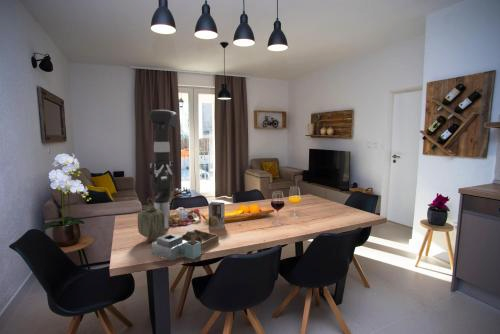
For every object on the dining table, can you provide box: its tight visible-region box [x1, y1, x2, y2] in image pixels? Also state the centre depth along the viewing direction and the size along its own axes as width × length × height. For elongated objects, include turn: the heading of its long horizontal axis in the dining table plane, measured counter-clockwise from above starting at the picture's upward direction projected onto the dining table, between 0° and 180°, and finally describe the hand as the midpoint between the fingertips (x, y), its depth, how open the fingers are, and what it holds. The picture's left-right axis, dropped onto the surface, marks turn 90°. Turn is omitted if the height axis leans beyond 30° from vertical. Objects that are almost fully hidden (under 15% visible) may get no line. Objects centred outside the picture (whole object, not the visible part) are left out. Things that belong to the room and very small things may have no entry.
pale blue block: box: [151, 232, 188, 262], centre depth 139 cm, size 14×11×8 cm
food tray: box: [169, 207, 202, 227], centre depth 192 cm, size 25×24×9 cm
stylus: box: [190, 230, 196, 245], centre depth 136 cm, size 2×2×12 cm
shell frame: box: [180, 229, 220, 252], centre depth 152 cm, size 17×16×4 cm
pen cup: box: [184, 241, 202, 260], centre depth 137 cm, size 6×6×7 cm
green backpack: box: [137, 197, 166, 243], centre depth 154 cm, size 14×9×25 cm, turn 48°
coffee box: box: [207, 201, 226, 230], centre depth 179 cm, size 9×6×16 cm
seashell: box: [185, 231, 203, 243], centre depth 151 cm, size 11×12×10 cm
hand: (162, 183), depth 138 cm, fingers open, 8 cm apart
